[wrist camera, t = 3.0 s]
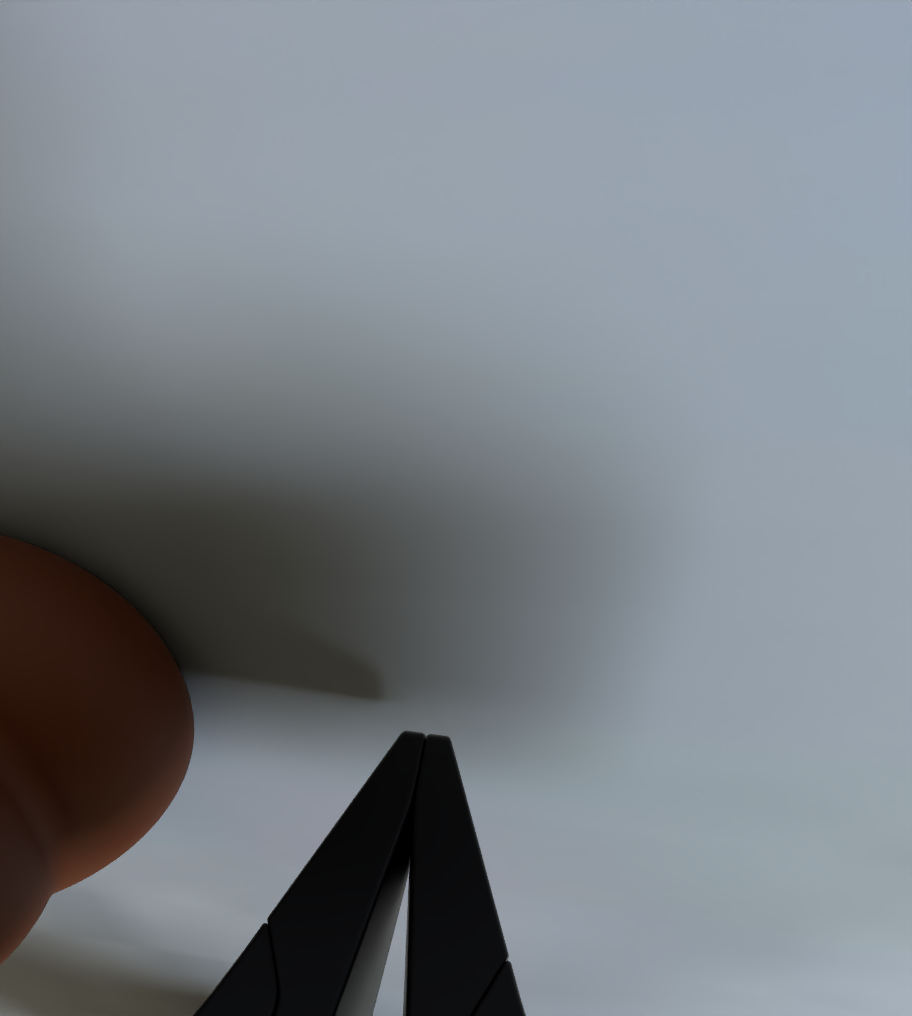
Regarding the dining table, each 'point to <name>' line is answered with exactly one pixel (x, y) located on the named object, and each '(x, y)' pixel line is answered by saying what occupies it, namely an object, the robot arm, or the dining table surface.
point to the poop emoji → (77, 730)
